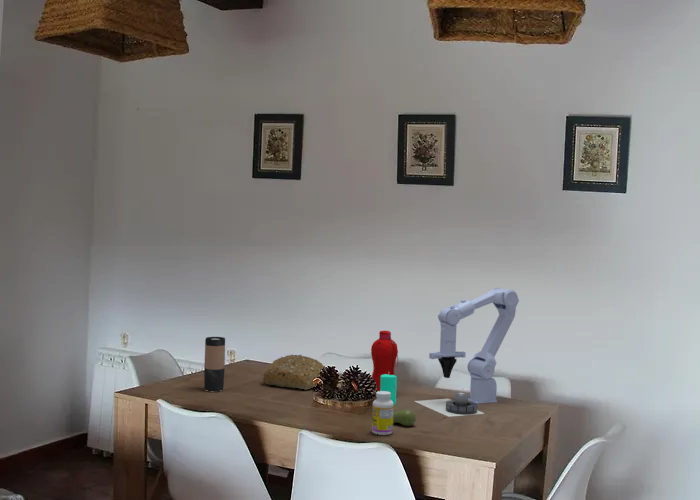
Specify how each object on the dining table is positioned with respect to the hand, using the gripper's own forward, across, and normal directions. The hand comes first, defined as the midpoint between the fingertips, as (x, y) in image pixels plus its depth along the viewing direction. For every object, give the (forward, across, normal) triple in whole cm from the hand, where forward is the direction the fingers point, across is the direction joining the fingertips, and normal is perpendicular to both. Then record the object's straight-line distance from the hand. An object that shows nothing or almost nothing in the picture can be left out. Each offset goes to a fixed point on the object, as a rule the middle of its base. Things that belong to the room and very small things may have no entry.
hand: (446, 377), depth 293 cm
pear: (+10, +30, +21) cm, 38 cm away
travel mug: (+10, +75, -46) cm, 89 cm away
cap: (+8, +1, +12) cm, 14 cm away
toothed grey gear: (+10, +1, +12) cm, 15 cm away
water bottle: (+10, +16, -18) cm, 26 cm away
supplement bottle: (+10, +41, +28) cm, 51 cm away
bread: (+10, +41, -47) cm, 63 cm away
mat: (+10, +2, +6) cm, 12 cm away
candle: (+10, +21, -6) cm, 24 cm away
